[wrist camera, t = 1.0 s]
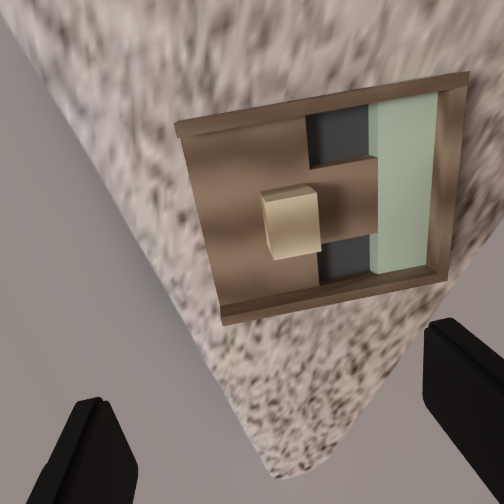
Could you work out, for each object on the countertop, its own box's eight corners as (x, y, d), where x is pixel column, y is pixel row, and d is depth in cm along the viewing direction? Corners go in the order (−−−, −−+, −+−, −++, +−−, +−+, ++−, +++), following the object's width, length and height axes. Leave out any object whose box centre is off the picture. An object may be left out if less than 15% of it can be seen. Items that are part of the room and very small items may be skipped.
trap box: (178, 120, 27) (173, 123, 24) (435, 75, 28) (469, 71, 25) (221, 303, 35) (222, 326, 31) (423, 262, 36) (447, 280, 32)
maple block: (259, 191, 28) (265, 202, 25) (304, 182, 29) (316, 192, 25) (267, 244, 30) (274, 260, 27) (309, 236, 31) (321, 251, 27)
